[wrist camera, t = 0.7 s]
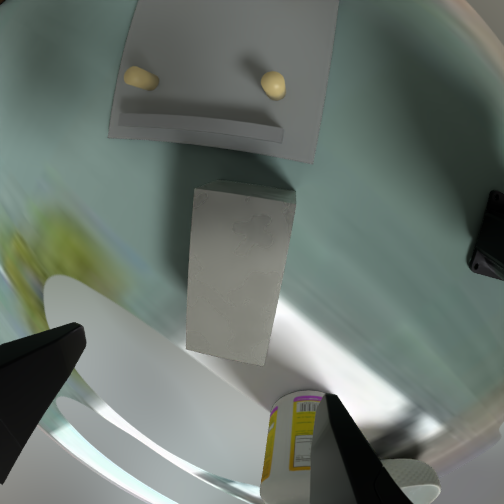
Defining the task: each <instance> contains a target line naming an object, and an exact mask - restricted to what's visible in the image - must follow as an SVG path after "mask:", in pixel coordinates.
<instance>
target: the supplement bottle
mask: <svg viewBox="0 0 504 504" xmlns="http://www.w3.org/2000/svg"><path fill="white" fill-rule="evenodd" d="M324 394H326V393H323V392H319V391H311V390H306V391H298V392H294V393H290V394H288V395H286V396H284V397H282V398H280V399H279V400H278V401H277V402H276V403H275V404H274V406H273V407H272V410H271V414H270V422H269V429H268V437H267V444H266V452H265V459H264V466H263V473H262V479H261V485H260V496H261V498H262V500H263V501H264V502H265V503H266V504H309V503H310V466H311V445H312V437H313V430H314V422H315V413H316V409H317V407H318V405H319V403H320V401H321V399H322V397H323V395H324Z"/></svg>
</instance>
